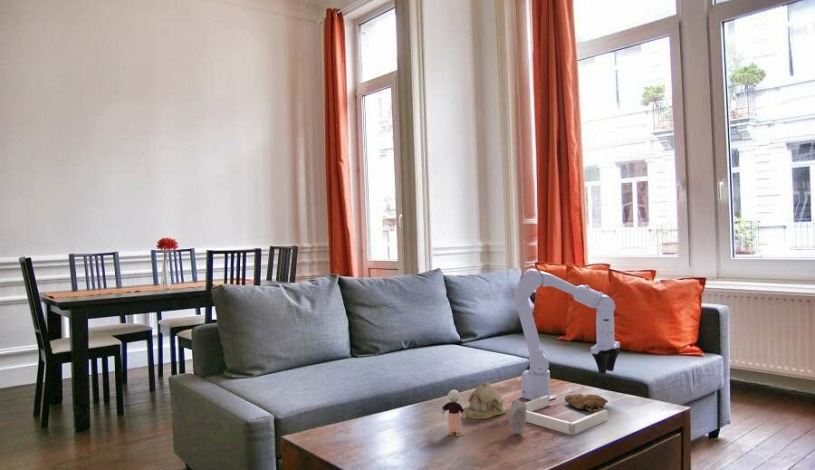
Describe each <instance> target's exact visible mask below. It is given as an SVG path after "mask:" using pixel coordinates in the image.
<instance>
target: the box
mask: <svg viewBox="0 0 815 470" xmlns="http://www.w3.org/2000/svg"><path fill="white" fill-rule="evenodd" d="M524 403H525V404H526V423H530V424H534V425H536V426H541V427H543V428H546V429H551V430H554V431H557V432H560V433H564V434H567V435H570V436H574V435H576V434H579V433H581V432H584V431H586V430H588V429H590V428H593V427H595V426H598V425H600V424H603V423H605V422H607V421H608V420H609V416H608V415H609V410H608V409H605V408H604V409H603V410H601V411H599V412H596V413H592V414H589V415H587V416H584V417H582V418H579V419H577V420H574V421H572V422H570V421H567V420H563V419H559V418H555V417H554V416H553V417H552V416H548V415H544V414H541V413H538V412H535V411H537V410H540V409H544V408H546V407H548V406H550V400H549V396H543V397H540V398H537V399H534V400H529V401H526V402H525V401H524ZM510 409H511V406H510ZM510 409H509V410H510Z"/></svg>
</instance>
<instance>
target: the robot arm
mask: <svg viewBox="0 0 815 470" xmlns="http://www.w3.org/2000/svg"><path fill="white" fill-rule="evenodd" d="M541 286H542V288H544V287H552V288H555V289H558V290H560V291H563V292H564V293H568V294H570V295H572V297H573V299H574V301H576V302H578V303H581V304H582V305H585V306H586V307H589V308H592V309H594V308H595V310H596V318H595V319H596V320H595V326H596V327H595V328H596V329H595V330H596V331H595V332H596V333H595V334H596V344H594V345H593V346H591V347H590V354H591V356H592V357H593V359H594V361H595V364H596V366H597V369H598V370H597V371H598V373H599V374H603V375H605V374H606V373H607V371H608V372H614V370H615V365H616V361H617V358H618V356H619V354H620V353H621V352H620V351H621V350H620V349H619V348H621V342H620V341H616V340H615V317H614V316H615V313H614V311H616V304H615V301H614V299H612V297H610V296H609V295H607V294H606V293H605V294H604V292H602V291H597V290H595V289H593V288H591V286H590V285H588V284H580V285H577V286H576V285H574V284H573V283H570V282H568V281H566V280H564V279H562V278H561V277H560V278H559V277H558V276H555V275H554V274H552V273H549V272H545V271H542V270H538V269H536V268H533V267H532V268H528V269H527V268H526V270H524V272H523V273H522V275H520V277H519V280H518V283H517V285H516V288H515V291H514V293H513V298H514V301H515V306H516V309H517V313H518V316H519V319H520V321H519V322H520V323H521V328H522V330H523V331H522V332H523V334H524V335H523V336H524V338H525V342H526V346H527V349H528V355H529V356H528V362H529V369H527V370H526V369H525V370H524V371H523V372H522V374H521V377H520V393H521V394H520V395H519V397H520V398H522V399H526V400H529V401H531V400H534V399H537V398H540V397H543V396H549V401H551V400H553V399H556V398H557V397H556V396H555V395H551V373H550V372H551V371H550V370H549V366H550V363H549V360H548V356H547V354H546V353H545V351H544V350H543V348H542V347H543V346H542V343H541V341H540V337H539V333H538V330H537V327H536V326H537V325H536V322H535V319H534V315H533V312H532V307H531V305H530V300H529V299H530V297H531V296H532V294H533V292H535V291H536V290H537V289H538V288H540V287H541Z"/></svg>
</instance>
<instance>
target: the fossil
mask: <svg viewBox="0 0 815 470" xmlns="http://www.w3.org/2000/svg"><path fill="white" fill-rule="evenodd" d="M510 407H511V409H509V413H508V418H507V420H508V425H509V427H510V430H511V431H512V433H513V434H515V435H521V434H522V433H523V432H524V431H525V429H526V427H527V426H526V425H527V422H526V404H525V401H524V402H523V401H520V400H517V399H513V400H512V402H511V406H510Z"/></svg>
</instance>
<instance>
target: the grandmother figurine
mask: <svg viewBox="0 0 815 470" xmlns="http://www.w3.org/2000/svg"><path fill="white" fill-rule="evenodd" d="M459 395H460V394H459V391H458V389H451V390H449V392H448V394H447V395H446V398H447V399H448V400H449V402H447V403H445V404H444V405H443V406H442V409H441V412H440V413H441V415H444V414H445V412H446V411H448V419H447V420H448V421H447V423H448V431H449V432H448V434H449V436H455V437H461V436H464V435H465V433H464V431H462V423H461V421H462V420H461V416H462V418H463V419H466V418H467V417H466V415H465V412H464V408H463V407H462V405H461V404H460V403H458V401H459ZM460 414H461V415H460ZM455 433H456V434H455Z"/></svg>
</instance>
